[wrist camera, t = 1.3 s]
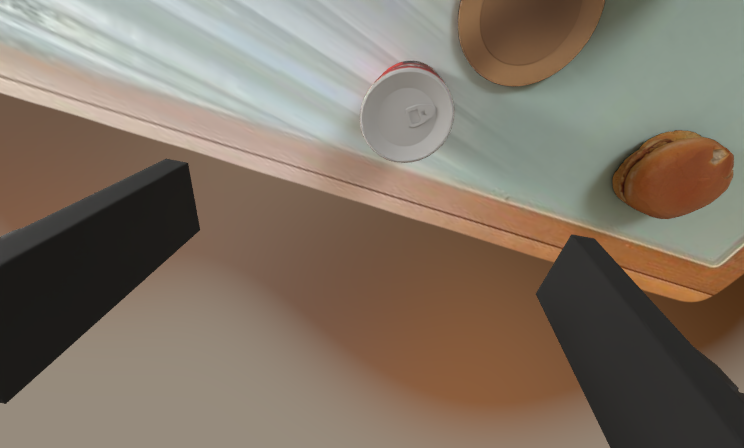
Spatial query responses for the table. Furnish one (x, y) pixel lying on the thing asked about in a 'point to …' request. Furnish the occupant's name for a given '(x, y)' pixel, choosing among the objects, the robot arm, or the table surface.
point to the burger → (674, 174)
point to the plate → (524, 36)
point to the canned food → (407, 113)
